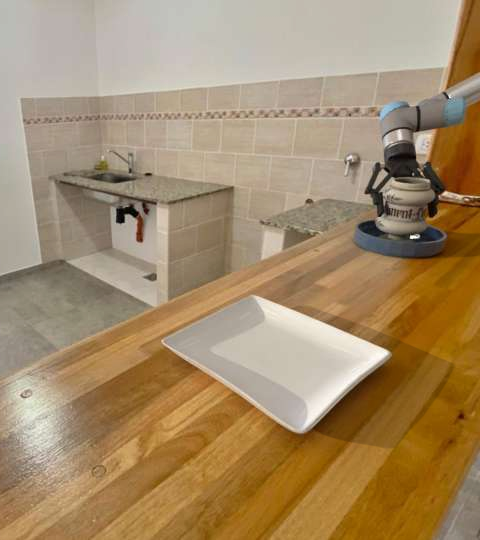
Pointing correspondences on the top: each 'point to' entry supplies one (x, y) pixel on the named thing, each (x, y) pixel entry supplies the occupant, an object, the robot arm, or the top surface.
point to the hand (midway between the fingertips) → (406, 215)
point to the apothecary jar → (405, 208)
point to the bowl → (424, 246)
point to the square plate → (278, 359)
